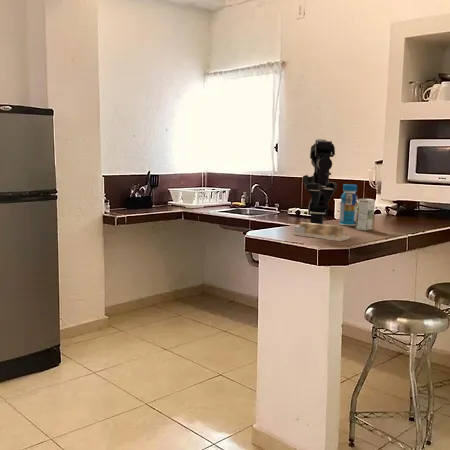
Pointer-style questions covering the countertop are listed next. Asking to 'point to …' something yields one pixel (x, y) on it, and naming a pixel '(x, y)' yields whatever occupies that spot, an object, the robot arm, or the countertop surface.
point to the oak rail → (322, 229)
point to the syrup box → (365, 214)
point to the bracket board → (301, 232)
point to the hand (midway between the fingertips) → (320, 205)
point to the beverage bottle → (348, 205)
